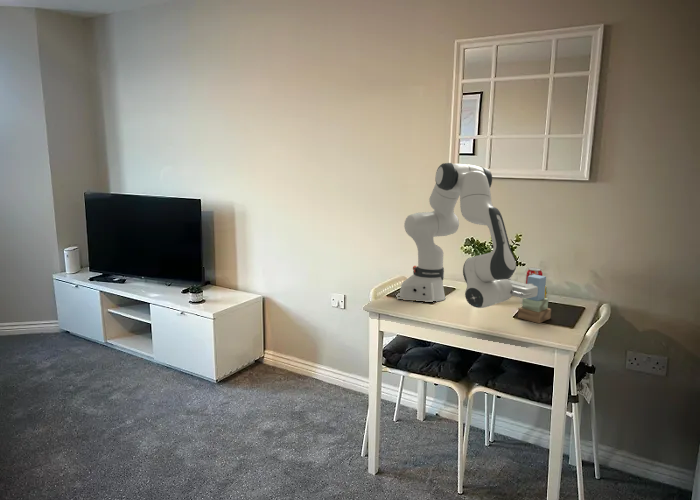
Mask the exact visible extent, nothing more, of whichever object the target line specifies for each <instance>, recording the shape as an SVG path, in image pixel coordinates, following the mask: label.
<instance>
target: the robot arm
mask: <svg viewBox="0 0 700 500" xmlns="http://www.w3.org/2000/svg"><path fill="white" fill-rule="evenodd" d="M434 181H435V183H434V184H435V185H434V187H433V189H432V191H431V193H430V196H429V199H428V200H429V201H428V202H429V206H430V207H431V208H432V209H433V211H427V212H426V211H425V212H415V213H412V214H409V215H407V217H406V218H405V220H404V225H403V227H404V230H405V231H404V232H405V233H406V234H407V235H408V236H409V237H410V238H411V239H412V240H413V241H414V243H415V245H416V247H417V260H418V261H417V265H413V266H412V270H413V272H412V275H410V276H409V277H408V278H406V279H404V281H403V282H402V283H401V285H400V290H399V291H400V293H398V294H397V295H396V294H395V295H396V297H397V298H398V299H405V300H416V301H425V302H433V301H436V302H441V301H443V300H445V299H446V295H445V289H444V279H445V278H444V277H445V269H444V251H443V249H442V247H440V246H439V245H438V244H436V243H435V241H434V237H435V238H436V237H437V238H438V237H447V236H450V235H453V234H455V233H456V232H458V230H459V227H460V221H459V218H458V217H459V216H457V214H456V213H455V212H454V210H455V208H456V204H457V203H458V202H457V201H458V200H459V203H460V204H459V206H460V207H459V208H460V213H461V215H462V217H463V218H464V220H466V221H468V222H470V223H471V224H474V225H479V226H480V225H481V226H486V227H487V228H488V229H489V234H490V238H491V243H492V247H493V248H492V250H491V251H490V252H488V253H483V254H479V255H474V256H472V257H468V258H467V259H466V260H465V261H464V263H463V266H462V275H463V279H464V281H465V284H466V289H465V291H464V293H465V294H464V297H465V300H466V302H467V303H468V304H469V306H471V307H473V308H478V309H485V308H489V307H492V306H494V305H496V304H500V303H504V302H506V301H508V300H510V299H511V298H512V296H513V297H516V298H520V299H523V298H532V297H536V296H537V293H538V287H537V286H534V284H531V283H529V284H526V282H525V283H524V282H521V281H516V280H512V279H511V278H512V276H513V275H514V274H515V271H516V268H517V261H516V258H515V256H514V254H513V252H512V249H511V245H510V241H509V238H508V237H509V236H508V234H507V230H506V229H507V228H506V226H505V225H506V224H505V222H504V220H503V216H502V214H501V211H500V209H498V208H497V207H495V206H494V205H493V202H492V193H491V187H492V184H493V175H492V171H491V170H490V169H488V168H486V167H485V166H479V165H478V166H477V165H474V164H468V163H464V164H463V163H452V162H444V163H441V164H440V165H439V166H438V167H437V170H436V171H435V180H434ZM398 296H400V297H398ZM396 297H395V298H396ZM398 299H397V300H398ZM433 303H434V302H433Z"/></svg>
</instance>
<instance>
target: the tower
mask: <svg viewBox="0 0 700 500" xmlns="http://www.w3.org/2000/svg"><path fill="white" fill-rule="evenodd" d="M521 304H522V305H521V307H518V309H517V318H518V319H521V320H525V321H528V322H533V323H536V324H540V323H543V322H546V321H547V320H548V321H549V320H550V319H551V316H552V315H551V314H552V308H549V306H548V305H549V298H547V297H546V298H544V299H543V300H540V301H535V300H531V299H526V298H522V303H521Z"/></svg>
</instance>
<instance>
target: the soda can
mask: <svg viewBox="0 0 700 500" xmlns="http://www.w3.org/2000/svg"><path fill="white" fill-rule="evenodd" d="M534 274H535V275H540V276H544V275H543V272H542V268H539V267H528V270H527V271H526V277H525V284H527V279H528V276H530V275H534Z"/></svg>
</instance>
